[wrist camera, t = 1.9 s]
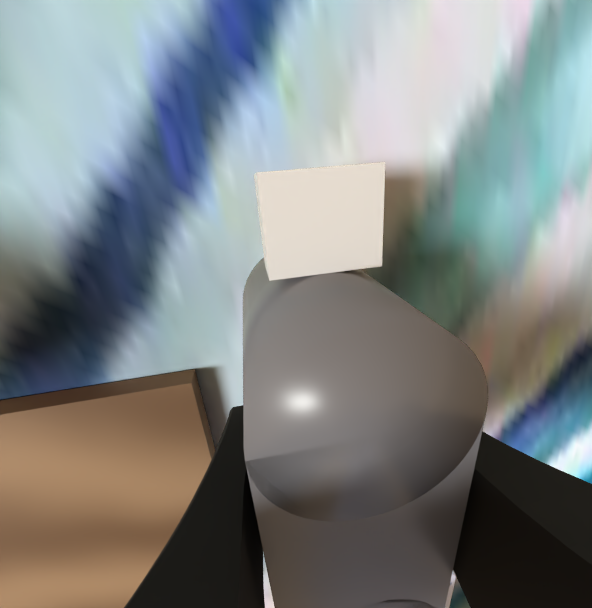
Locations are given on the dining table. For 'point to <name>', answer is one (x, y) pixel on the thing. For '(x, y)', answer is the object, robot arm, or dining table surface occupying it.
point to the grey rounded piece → (350, 405)
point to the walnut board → (96, 487)
